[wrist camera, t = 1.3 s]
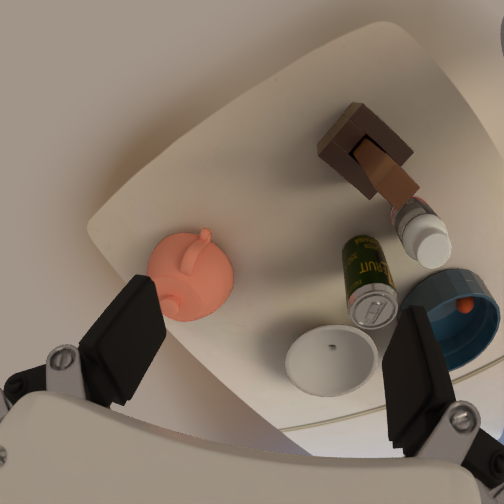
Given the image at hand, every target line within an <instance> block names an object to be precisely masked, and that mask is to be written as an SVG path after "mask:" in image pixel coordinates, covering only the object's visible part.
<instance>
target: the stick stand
mask: <svg viewBox="0 0 504 504" xmlns="http://www.w3.org/2000/svg"><path fill="white" fill-rule="evenodd" d="M364 135H366V136H367V137H368V138H369V139H371V140H372V141H373V142H372V143H373V144H374V145H376V146H377V147H378V148H379V149H380V150H382V151H383V152H384V153H385V154H386V155H388V156H389V157H390V158H391V159H392V160H393V161H394V162H396V163H397V164H398V165H399V166H402V165H403V164H404V163H405V162H406V161H407V159H408V158H409V157H410V156H411V155H412V154H413V153H414V151H413V150H412V149H411V148H410V147H409V146H408V145H407V144H406V143H405V142H404V141H403V140H402V139H401V138H400V137H399V136H398V135H397V134H396V133H395V132H394V131H393V130H392V129H391V128H390V127H388V126H387V125H386V124H385V123H384V122H383V121H382V120H381V119H380V118H379V117H378V116H377V115H375V114H374V113H373V112H372V111H371V110H370V109H369V108H368V107H366V106H365V105H364V104H363V103H354V102H353V103H352V104H351V105H350V106H349V107H348V109H347V110H346V111H345V112H344V113H343V114H342V116H341V117H340V118H339V119H338V120H337V122H336V123H335V124H334V125H333V126H332V127H331V129H330V130H329V131H328V132H327V133H326V135H325V136H324V137H323V138H322V139H321V140H320V142H319V143H318V144H317V147H318V156H319V157H320V158H321V159H323V160H324V161H325V162H326V163H327V164H329V165H330V166H331V167H332V168H333V169H335V170H336V171H337V172H338V173H339V174H341V175H342V176H343V177H344V178H345V179H346V180H348V181H349V182H350V183H351V184H352V185H353V186H354V187H356V188H357V189H358V190H359V191H360V192H361V193H362V194H363V195H364V196H366V197H367V198H368V199H369V200H370V199H371V198H372V197H373V196H374V195H375V194H376V193H377V192H378V191H377V190H376V189H375V187H374V186H373V184H372V183H371V181H370V179H369V178H368V176H367V175H366V173H365V171H364V170H363V168H362V167H361V165H360V164H359V162H358V161H357V159H356V158H355V156H354V155H353V153H352V152H351V150H352V149H353V148H354V147H355V145H356V144H357V143H358V142H359V141H360V140H361V139H362V137H363V136H364Z"/></svg>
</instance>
